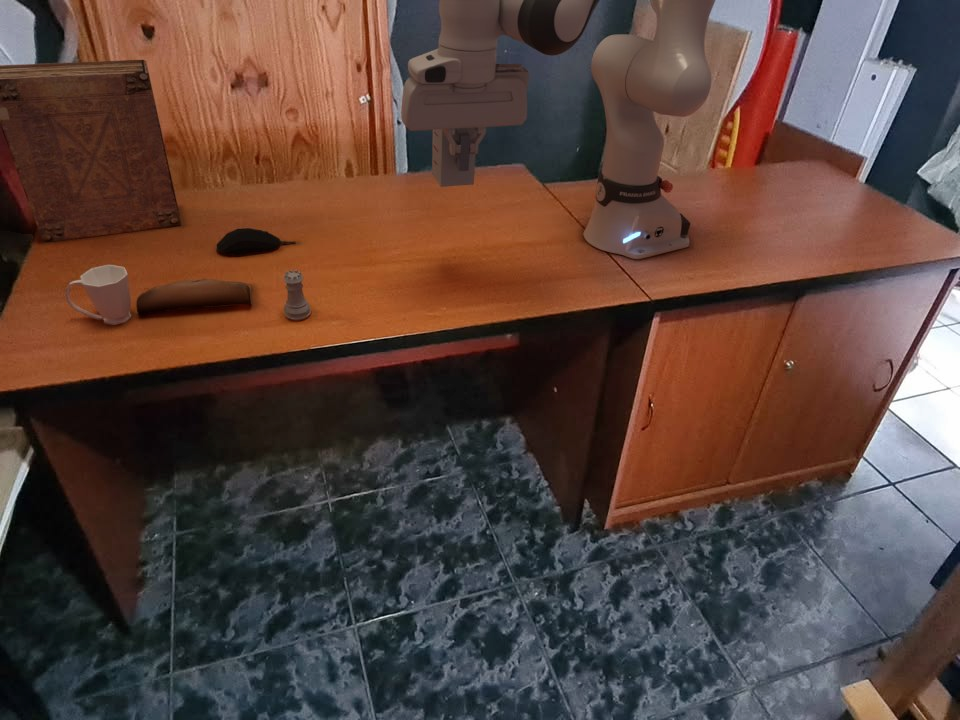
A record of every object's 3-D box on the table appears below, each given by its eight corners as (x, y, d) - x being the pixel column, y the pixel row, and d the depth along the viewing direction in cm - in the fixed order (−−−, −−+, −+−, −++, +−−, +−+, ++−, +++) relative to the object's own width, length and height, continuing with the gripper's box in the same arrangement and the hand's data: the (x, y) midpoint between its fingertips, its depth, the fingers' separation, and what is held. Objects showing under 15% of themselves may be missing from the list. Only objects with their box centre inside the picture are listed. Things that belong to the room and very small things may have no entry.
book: (41, 242, 132) (-18, 80, 114) (44, 222, 139) (-12, 65, 121) (182, 225, 141) (148, 71, 123) (178, 207, 147) (145, 59, 129)
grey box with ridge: (463, 171, 125) (479, 192, 118) (431, 173, 123) (445, 195, 116) (466, 115, 119) (483, 134, 112) (432, 117, 117) (447, 136, 110)
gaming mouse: (297, 250, 135) (295, 232, 133) (218, 258, 131) (214, 239, 128) (293, 236, 140) (291, 218, 137) (216, 243, 135) (213, 225, 133)
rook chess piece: (284, 322, 115) (279, 281, 110) (283, 308, 118) (278, 267, 113) (312, 320, 116) (307, 278, 111) (310, 306, 119) (305, 265, 115)
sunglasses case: (251, 281, 124) (246, 262, 118) (254, 316, 121) (250, 298, 115) (143, 290, 120) (133, 271, 113) (144, 326, 117) (133, 309, 111)
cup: (135, 328, 111) (122, 285, 106) (68, 331, 110) (52, 288, 105) (144, 305, 117) (132, 263, 112) (80, 307, 115) (65, 265, 110)
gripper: (523, 58, 110) (515, 143, 119) (397, 61, 105) (399, 150, 113) (537, 68, 106) (529, 156, 114) (407, 72, 100) (408, 164, 108)
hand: (463, 153), depth 113 cm, fingers closed on grey box with ridge
